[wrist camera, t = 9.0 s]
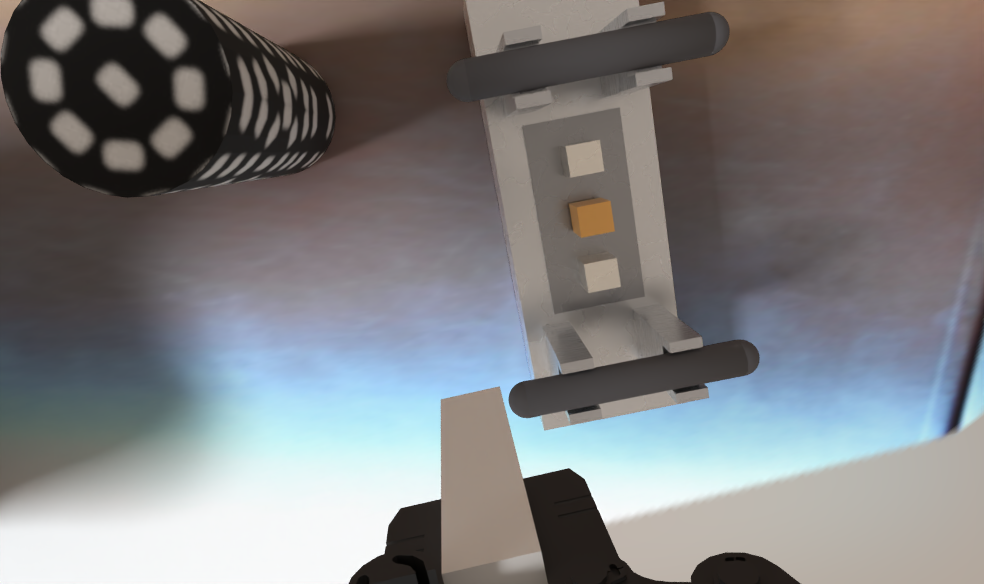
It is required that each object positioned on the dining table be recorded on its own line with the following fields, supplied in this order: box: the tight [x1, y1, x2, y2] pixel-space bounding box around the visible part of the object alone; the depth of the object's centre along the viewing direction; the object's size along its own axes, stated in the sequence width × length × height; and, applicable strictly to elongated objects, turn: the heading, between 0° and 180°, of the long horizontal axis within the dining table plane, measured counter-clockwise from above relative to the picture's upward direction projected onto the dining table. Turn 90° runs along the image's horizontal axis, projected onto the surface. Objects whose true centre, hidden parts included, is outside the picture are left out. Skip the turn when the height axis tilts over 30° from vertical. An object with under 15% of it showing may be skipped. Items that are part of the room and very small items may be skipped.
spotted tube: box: [1, 0, 335, 197], centre depth 33 cm, size 8×8×20 cm
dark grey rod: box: [447, 12, 729, 102], centre depth 30 cm, size 14×2×2 cm, turn 101°
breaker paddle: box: [569, 197, 615, 238], centre depth 37 cm, size 2×2×3 cm
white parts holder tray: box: [463, 0, 709, 430], centre depth 38 cm, size 10×28×13 cm, turn 11°
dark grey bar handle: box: [509, 340, 760, 418], centre depth 34 cm, size 14×2×2 cm, turn 101°
